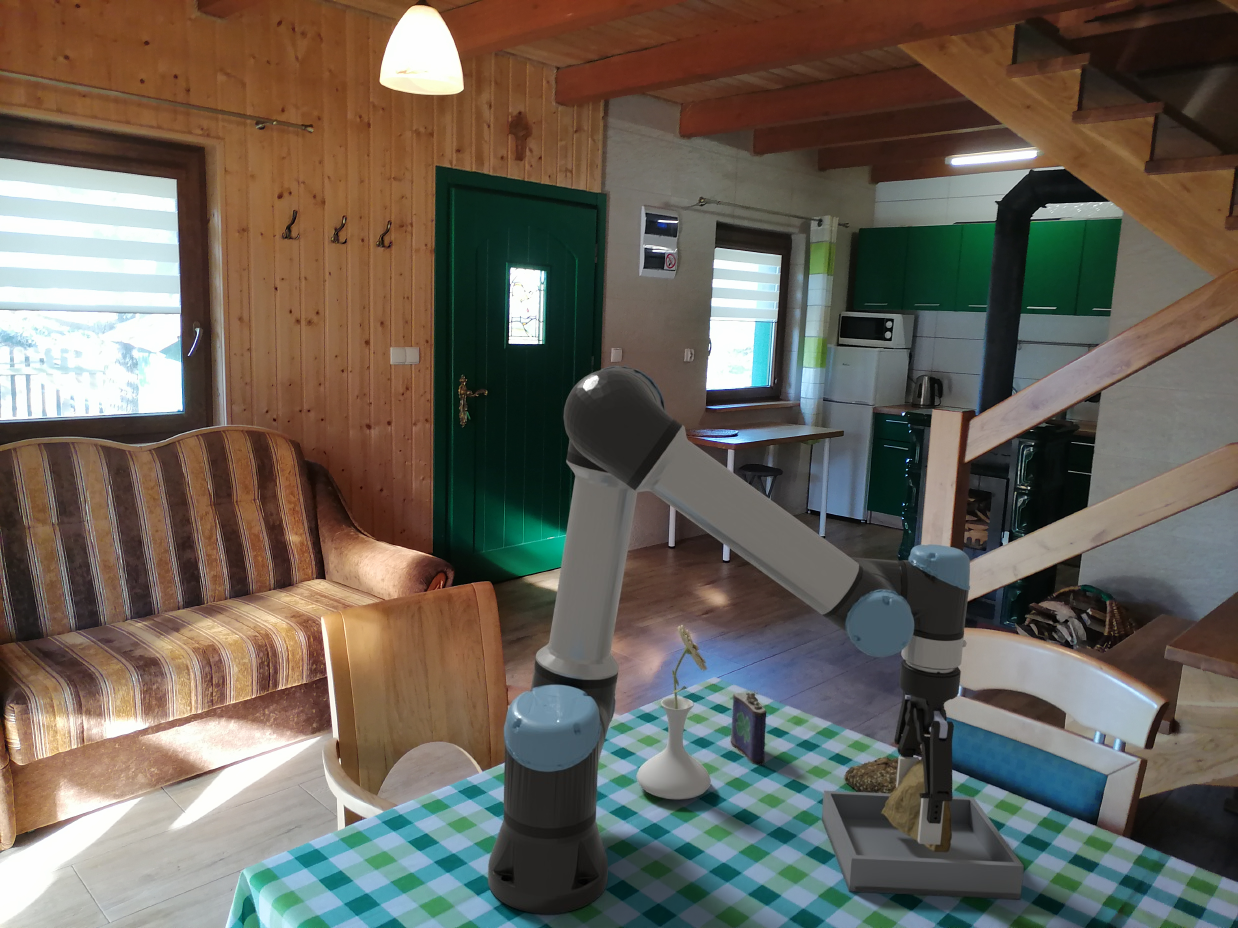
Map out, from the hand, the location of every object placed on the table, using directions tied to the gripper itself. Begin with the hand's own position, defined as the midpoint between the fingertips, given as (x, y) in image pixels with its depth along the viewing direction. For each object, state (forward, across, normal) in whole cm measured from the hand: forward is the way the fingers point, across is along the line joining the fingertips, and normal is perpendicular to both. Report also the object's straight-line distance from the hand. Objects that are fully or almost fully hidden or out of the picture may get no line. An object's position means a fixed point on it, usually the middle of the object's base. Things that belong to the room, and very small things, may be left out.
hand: (916, 821), depth 126 cm
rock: (+2, 0, 0) cm, 2 cm away
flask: (+5, +30, +19) cm, 36 cm away
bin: (+5, 0, 0) cm, 5 cm away
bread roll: (+6, +20, -2) cm, 21 cm away
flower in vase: (+5, +17, +32) cm, 37 cm away
